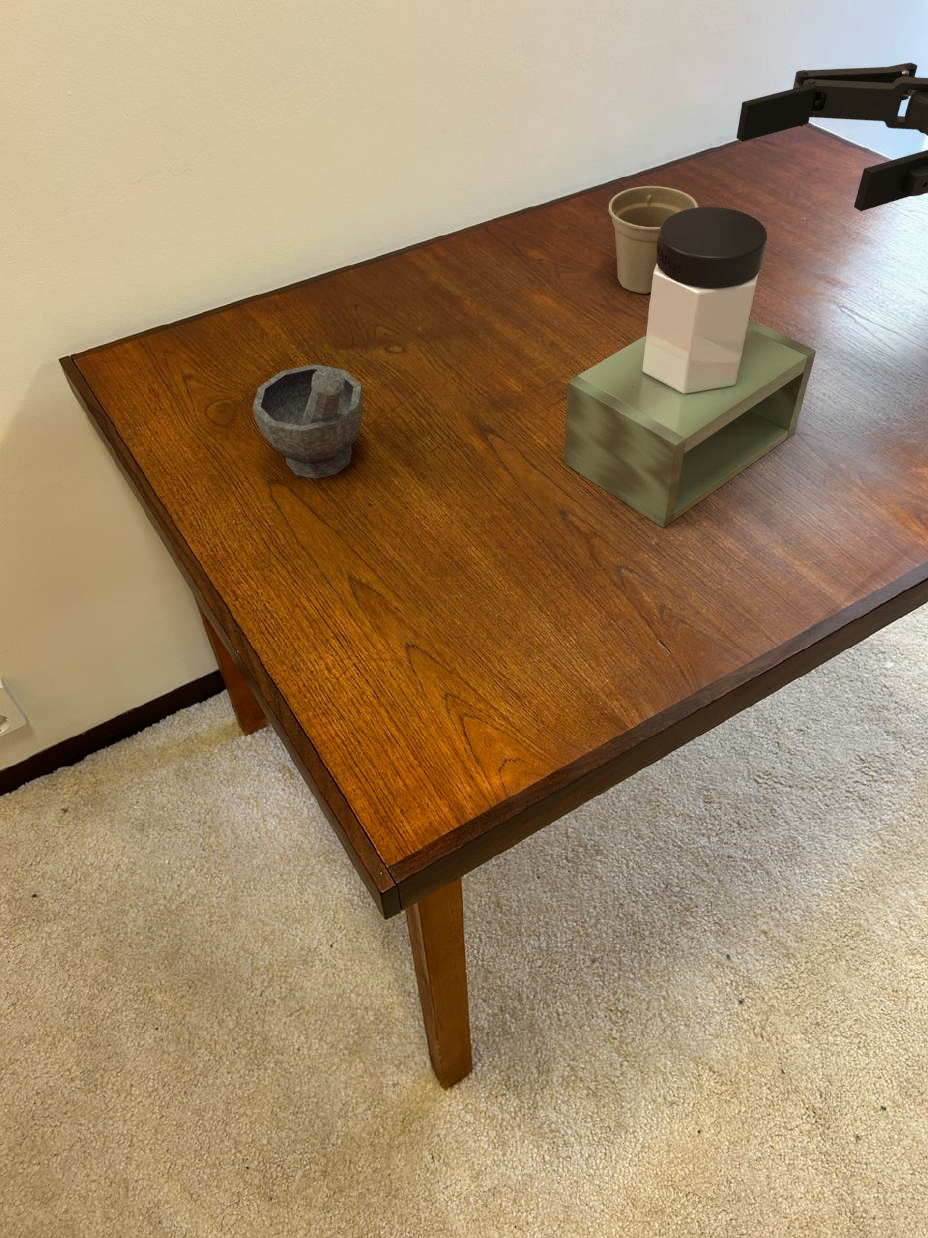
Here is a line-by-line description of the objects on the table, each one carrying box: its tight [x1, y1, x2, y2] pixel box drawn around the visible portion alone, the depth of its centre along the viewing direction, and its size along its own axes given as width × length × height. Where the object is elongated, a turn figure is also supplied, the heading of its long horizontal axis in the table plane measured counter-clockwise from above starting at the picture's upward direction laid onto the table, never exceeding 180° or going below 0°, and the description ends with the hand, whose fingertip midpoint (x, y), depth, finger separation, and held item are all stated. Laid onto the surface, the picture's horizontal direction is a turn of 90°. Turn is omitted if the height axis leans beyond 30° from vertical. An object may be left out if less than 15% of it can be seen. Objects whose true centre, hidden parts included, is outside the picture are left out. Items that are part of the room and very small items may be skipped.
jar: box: [642, 206, 768, 394], centre depth 78 cm, size 9×8×12 cm
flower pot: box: [608, 185, 699, 295], centre depth 106 cm, size 9×9×9 cm
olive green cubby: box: [563, 318, 817, 529], centre depth 86 cm, size 12×18×9 cm, turn 131°
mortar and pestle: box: [252, 364, 364, 480], centre depth 86 cm, size 11×9×12 cm
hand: (798, 154), depth 71 cm, fingers open, 13 cm apart
